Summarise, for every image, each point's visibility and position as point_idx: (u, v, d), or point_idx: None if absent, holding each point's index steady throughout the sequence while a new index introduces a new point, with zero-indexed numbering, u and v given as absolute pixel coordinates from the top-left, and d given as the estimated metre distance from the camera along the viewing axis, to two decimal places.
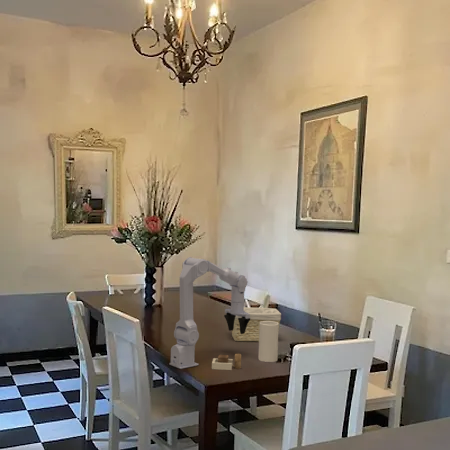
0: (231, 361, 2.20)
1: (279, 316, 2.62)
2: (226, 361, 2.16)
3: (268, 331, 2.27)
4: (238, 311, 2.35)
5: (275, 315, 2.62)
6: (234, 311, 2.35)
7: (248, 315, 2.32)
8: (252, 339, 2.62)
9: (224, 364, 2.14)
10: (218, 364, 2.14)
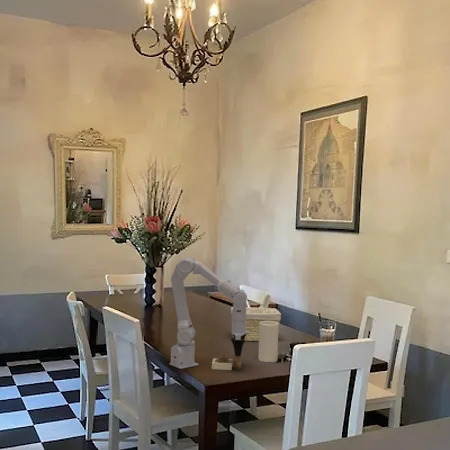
0: (231, 361, 2.20)
1: (279, 316, 2.63)
2: (226, 361, 2.16)
3: (268, 331, 2.27)
4: (234, 331, 2.15)
5: (275, 315, 2.62)
6: (232, 330, 2.16)
7: (238, 336, 2.10)
8: (252, 339, 2.62)
9: (224, 364, 2.14)
10: (218, 364, 2.14)
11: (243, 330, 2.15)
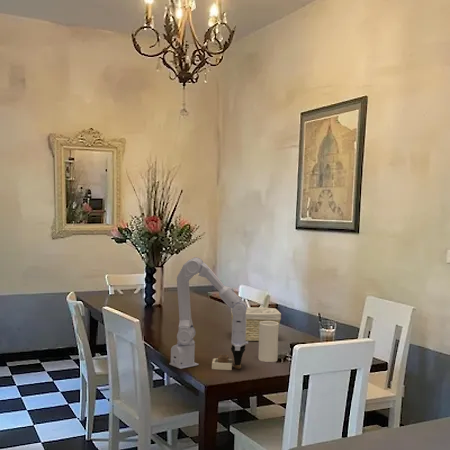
0: (231, 361, 2.20)
1: (279, 316, 2.63)
2: (226, 361, 2.16)
3: (268, 331, 2.27)
4: (234, 341, 2.15)
5: (275, 315, 2.63)
6: None
7: (237, 347, 2.10)
8: (252, 339, 2.62)
9: (224, 364, 2.14)
10: (218, 364, 2.14)
11: (243, 341, 2.15)
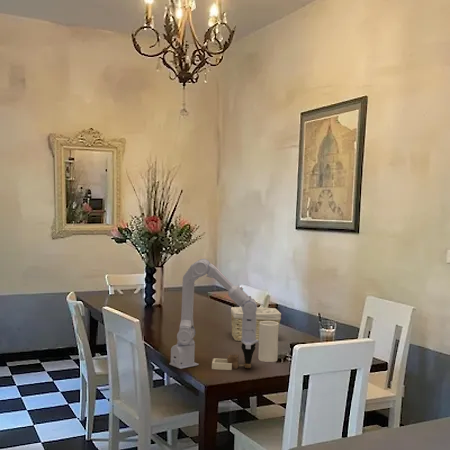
0: None
1: (279, 316, 2.63)
2: (235, 361, 2.16)
3: (268, 331, 2.27)
4: (244, 339, 2.15)
5: (275, 315, 2.63)
6: (242, 339, 2.16)
7: (248, 345, 2.10)
8: None
9: (224, 364, 2.14)
10: (218, 364, 2.14)
11: (253, 339, 2.15)
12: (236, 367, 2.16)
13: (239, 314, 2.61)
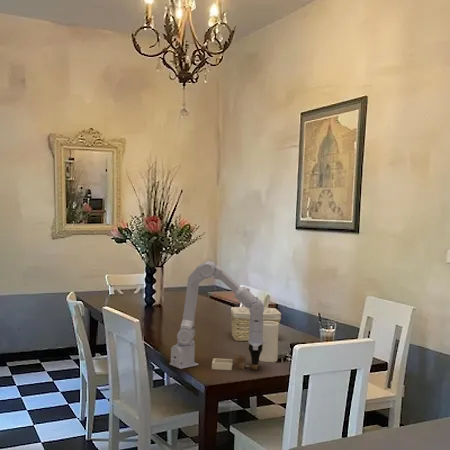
0: (231, 361, 2.20)
1: (279, 316, 2.63)
2: (242, 362, 2.16)
3: (268, 331, 2.27)
4: (252, 341, 2.14)
5: (275, 315, 2.63)
6: (249, 340, 2.16)
7: (255, 346, 2.09)
8: None
9: (224, 364, 2.14)
10: (218, 364, 2.14)
11: (260, 340, 2.15)
12: (243, 368, 2.16)
13: (239, 314, 2.61)
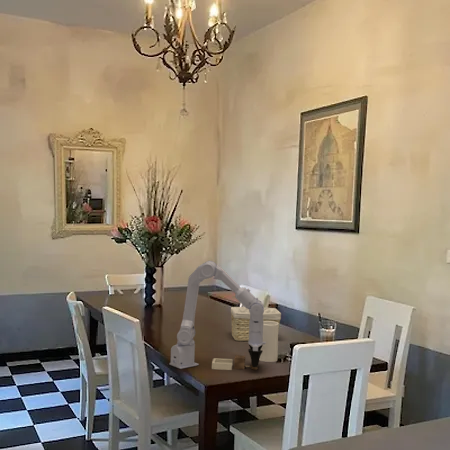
0: (231, 361, 2.20)
1: (279, 315, 2.64)
2: (242, 362, 2.16)
3: (268, 331, 2.27)
4: (252, 341, 2.14)
5: (275, 315, 2.63)
6: (249, 341, 2.16)
7: (255, 347, 2.10)
8: None
9: (224, 364, 2.14)
10: (218, 364, 2.14)
11: (260, 341, 2.15)
12: (243, 368, 2.16)
13: (239, 314, 2.61)
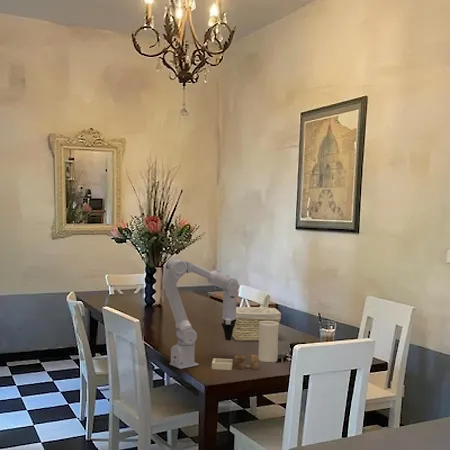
0: (231, 361, 2.20)
1: (279, 315, 2.64)
2: (242, 362, 2.16)
3: (268, 331, 2.27)
4: (225, 316, 2.24)
5: (275, 314, 2.63)
6: None
7: (228, 321, 2.19)
8: (252, 338, 2.63)
9: (224, 364, 2.14)
10: (218, 364, 2.14)
11: (233, 315, 2.24)
12: (243, 368, 2.16)
13: (239, 314, 2.61)
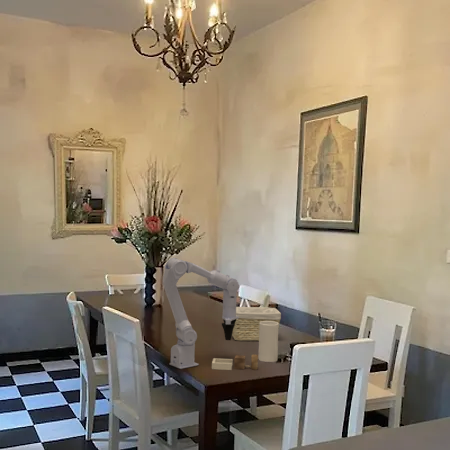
0: (231, 361, 2.20)
1: (279, 315, 2.64)
2: (242, 362, 2.16)
3: (268, 331, 2.27)
4: (225, 316, 2.24)
5: (275, 314, 2.64)
6: None
7: (228, 321, 2.19)
8: (252, 338, 2.63)
9: (224, 364, 2.14)
10: (218, 364, 2.14)
11: (233, 315, 2.24)
12: (243, 368, 2.16)
13: (239, 314, 2.61)
